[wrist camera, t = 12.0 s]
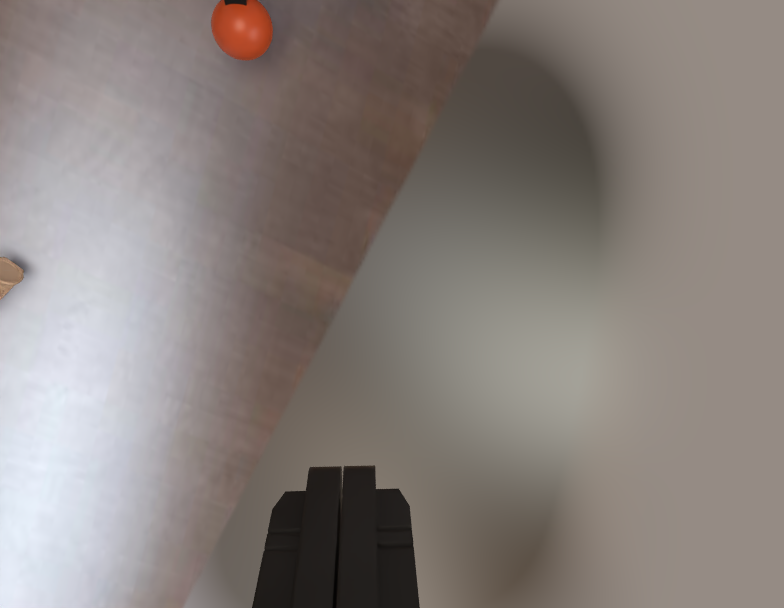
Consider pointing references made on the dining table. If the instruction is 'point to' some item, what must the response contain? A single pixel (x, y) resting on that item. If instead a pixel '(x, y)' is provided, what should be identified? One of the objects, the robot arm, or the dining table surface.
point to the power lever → (242, 28)
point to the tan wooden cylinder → (9, 275)
